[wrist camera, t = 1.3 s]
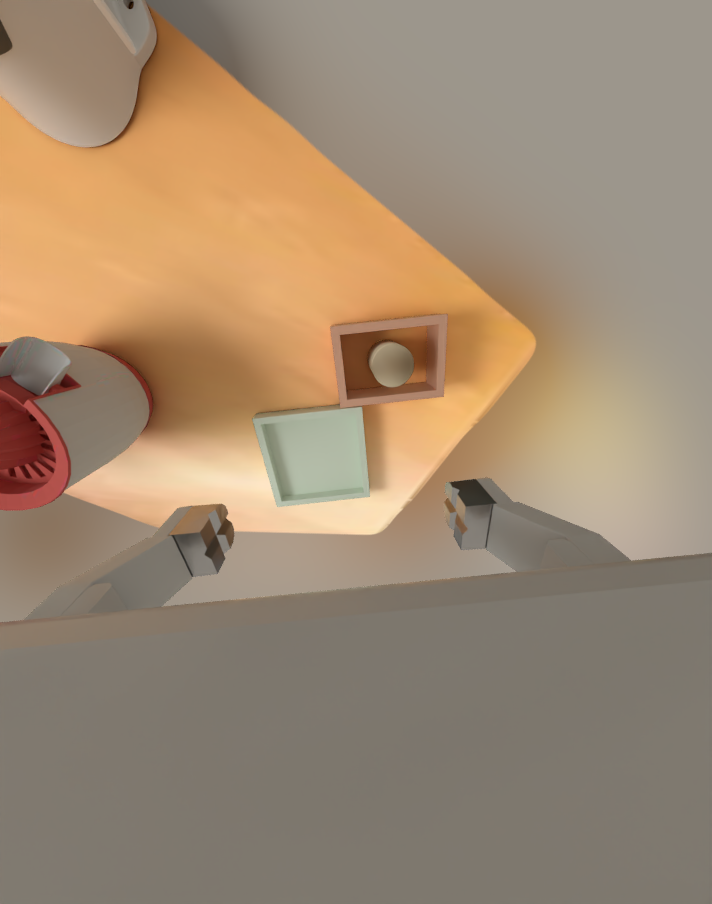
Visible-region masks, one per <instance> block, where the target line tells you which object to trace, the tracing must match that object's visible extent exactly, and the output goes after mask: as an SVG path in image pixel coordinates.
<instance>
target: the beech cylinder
mask: <svg viewBox="0 0 712 904" xmlns="http://www.w3.org/2000/svg"><path fill="white" fill-rule="evenodd" d="M368 365H369V367H370V369H371V371H372V373H373V374H374V376H375V378H376V379H377V381H378V382H379V383H380V384H382V385H384V386H386V387H398V386H400V385H402V384H404V383H405V382H406V381H407V380H408V379H409V378H410V376H411V375H412V373H413V369H414V360H413V356H412V354H411V353H410V351H409V350H408V349H407V348H405V347H404V346H402V345H400V344H398V343H396V342H394V341H391V340H380V341H378V342H376V343H375V344H374V345H373V346H372V347H371V348H370V350H369V353H368Z"/></svg>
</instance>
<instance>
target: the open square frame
mask: <svg viewBox="0 0 712 904" xmlns="http://www.w3.org/2000/svg"><path fill="white" fill-rule="evenodd" d="M447 320H448V314H431V315H422V316H413V317H403V318H394V319H385V320H376V321H367V322H357V323H348V324H339V325H331V326H330V329H331V337H332V345H333V352H334V360H335V368H336V376H337V384H338V392H339V400H340V408H344V407H354V406H363V405H372V404H381V403H390V402H399V401H408V400H418V399H427V398H436V397H444V381H445V361H446V340H447ZM418 326H427V363H426V382H421V383H411V384H402V385H400V386H398V387H386V386H384V387H375V388H366V389H357V390H347V391H346V383H345V374H344V365H343V357H342V348H341V339H340V335H344V334H353V333H363V332H372V331H381V330H390V329H399V328H408V327H418Z"/></svg>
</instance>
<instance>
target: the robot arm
mask: <svg viewBox="0 0 712 904" xmlns="http://www.w3.org/2000/svg"><path fill="white" fill-rule="evenodd" d="M130 2H134V6H133V8H132V9H129V3H130ZM156 40H157V32H156V27H155V24H154V21H153V19H152V16H151V14H150V11H149V9H148V6H147V4H146V1H145V0H0V96H1V97H2V98H3V99H5V100H6V101H7V102H8V103H9V104H10V105H11V106H12V107H13V108H14V109H15V110H16V111H17V112H19V113H20V114H21V115H22V116H23V117H24V118H25V119H26V120H27V121H29V122H30V123H31V124H32V125H33V126H35V127H36V128H38V129H39V130H40V131H42V132H43V133H45V134H47V135H48V136H50V137H52V138H54V139H56V140H58V141H61V142H63V143H66V144H69V145H73V146H78V147H96V146H100V145H103V144H106V143H108V142H110V141H112V140H113V139H115V138H116V137H117V136H118V135H119V134H120V133H121V132H122V131H123V130H124V128H125V127H126V125H127V124H128V122H129V120H130V118H131V116H132V113H133V110H134V107H135V103H136V98H137V92H138V84H139V78H140V73H141V70H142V68H143V66H144V65H145V63H146V62H147V60H148V59H149V57H150V55H151V54H152V52H153V50H154V47H155V45H156ZM445 493H446V495H447V497H448V498H447V499H446V501H445V502H444V514H445V518H446V522H447V524H448V526H449V528H451V529H453V530H454V537H455V540H456V541H457V543H458V545H459V547H460V549H461V550H469V549H485V548H486V550H487V551H489V552H490V553H492V554H493V555H494V556H496V557H497V558H498V559H500V560H501V561H503V562H504V563H505V564H507V565H508V566H510V567H511V568H512V569H514V570H515V571H516V572H511V573H501V574H491V575H481V576H471V577H462V578H461V577H460V578H450V579H440V580H430V581H419V582H409V583H399V584H388V585H378V586H367V587H357V588H348V589H337V590H327V591H318V592H307V593H298V594H288V595H278V596H267V597H256V598H246V599H236V600H226V601H215V602H205V603H194V604H185V605H174V606H164V607H162V606H163V605H164V603H166V602H167V601H168V600H169V599H170V598H171V597H172V596H174V595H175V594H176V593H177V592H178V591H179V590H180V589H181V588H182V587H183V586H184V585H186V584H187V583H188V582H189V581H190V580H191V579H192V577H196V576H204V575H211V574H218V572H219V570H220V568H221V566H222V564H223V562H224V560H225V556H224V553H225V552H227V551H228V550H229V549H230V548H231V546H232V543H233V540H234V528H233V525H232V523H231V522H230V521H229V520H227V519H226V517H227V515H228V511H227V509H226V506H225V505H223V504H211V505H198V506H186V507H180V508H177V510H176V511H175V512H174V513H173V514H172V515H171V516H170V517H169V518H168V520H167V521H166V522H165V523H164V524H163V525H162V526H161V527H160V528H159V529H158V531H157V532H156V533H155V534H154V535H153V536H152V537H150V538H146V539H144V540H142V541H140V542H138V543H137V544H135V545H133V546H131V547H130V548H128V549H126V550H124V551H122V552H120V553H119V554H117V555H115V556H113V557H111V558H110V559H108V560H106V561H104V562H102V563H101V564H99V565H97V566H95V567H93V568H92V569H90V570H88V571H86V572H84V573H83V574H81V575H79V576H77V577H75V578H74V579H72V580H70V581H68V582H67V583H65V584H63V585H61V586H59V587H58V588H57V589H56V590H55V591H54V592H53V593H52V594H51V595H50V596H48V597H47V599H45V600H44V601H43V602H42V603H41V604H40V605H39V606H38V607H37V608H36V609H34V610H33V611H32V612H31V613H30V614H29V615H28V616H27V617H26V618H25V619H24V620H20V621H9V622H0V904H712V553H705V554H695V555H684V556H674V557H665V558H654V559H643V560H633V561H631V560H630V559H629V558H628V557H626V556H625V555H624V554H623V553H622V552H620V551H619V550H618V549H617V548H615V547H614V546H613V545H612V544H611V543H609V542H608V541H607V540H606V539H604V538H603V537H602V536H601V535H600V534H597V533H595V532H592V531H590V530H587V529H585V528H582V527H580V526H577V525H575V524H572V523H570V522H567V521H565V520H562V519H560V518H557V517H555V516H552V515H550V514H547V513H545V512H542V511H540V510H537V509H535V508H532V507H530V506H527V505H525V504H522V503H519V502H513V501H512V500H511V499H510V498H509V497H508V496H507V495H506V494H505V493H504V492H503V491H502V490H501V489H500V488H499V487H498V486H497V485H496V484H495V483H494V481H492V479H490V478H488V477H485V478H478V479H472V480H463V481H454V482H447V483H446V485H445Z"/></svg>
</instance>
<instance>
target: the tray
mask: <svg viewBox="0 0 712 904" xmlns="http://www.w3.org/2000/svg"><path fill="white" fill-rule="evenodd" d="M252 420H253V424H254V427H255V431H256V434H257V438H258V441H259V445H260V448H261V452H262V456H263V459H264V463H265V466H266V470H267V473H268V477H269V480H270V484H271V487H272V491H273V494H274V498H275V501H276V505H277V507H281V506H291V505H300V504H309V503H318V502H327V501H336V500H345V499H354V498H363V497H370V491H369V480H368V468H367V457H366V446H365V435H364V424H363V413H362V406H354V407H344V408H340V404H339V405H330V406H321V407H312V408H303V409H293V410H284V411H275V412H266V413H257V414H256V415H255V416H254V417H253V418H252Z"/></svg>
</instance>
